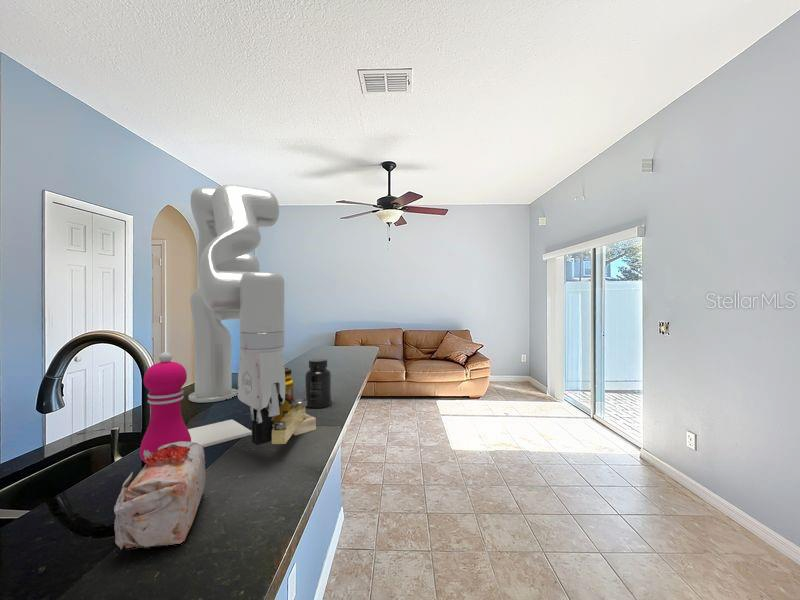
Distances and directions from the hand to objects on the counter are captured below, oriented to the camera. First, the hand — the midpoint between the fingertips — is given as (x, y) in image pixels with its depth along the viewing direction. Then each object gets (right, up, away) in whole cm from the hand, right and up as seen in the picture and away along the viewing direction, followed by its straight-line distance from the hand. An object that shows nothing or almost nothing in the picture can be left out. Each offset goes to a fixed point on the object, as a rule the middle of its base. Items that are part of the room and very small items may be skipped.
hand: (262, 441), depth 68 cm
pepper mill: (-13, -3, -7) cm, 15 cm away
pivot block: (+3, -3, +14) cm, 14 cm away
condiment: (-4, -3, +19) cm, 20 cm away
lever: (+3, 0, +7) cm, 8 cm away
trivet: (-14, -3, +11) cm, 18 cm away
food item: (-5, -3, -20) cm, 21 cm away
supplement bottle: (+3, -3, +32) cm, 32 cm away
